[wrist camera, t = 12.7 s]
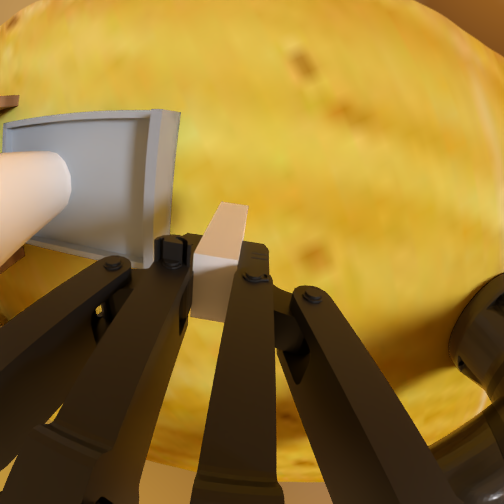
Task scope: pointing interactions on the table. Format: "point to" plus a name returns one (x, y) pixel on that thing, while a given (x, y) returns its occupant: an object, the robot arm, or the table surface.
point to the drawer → (106, 179)
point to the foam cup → (29, 195)
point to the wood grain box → (5, 103)
